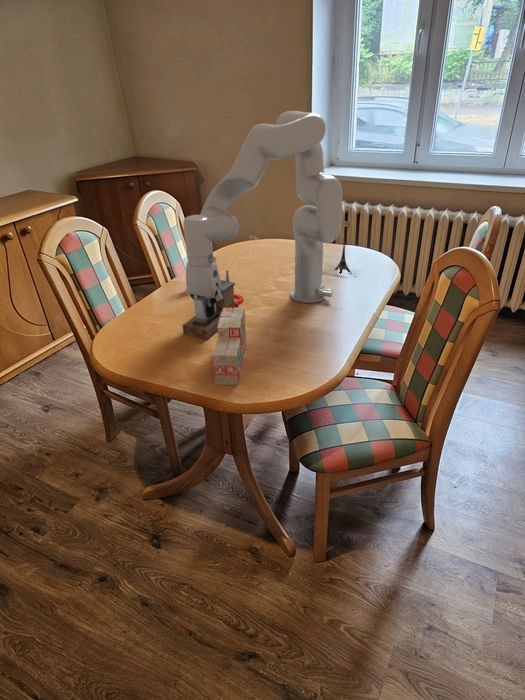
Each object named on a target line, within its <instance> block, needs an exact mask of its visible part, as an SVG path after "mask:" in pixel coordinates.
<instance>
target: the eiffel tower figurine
mask: <svg viewBox="0 0 525 700" xmlns="http://www.w3.org/2000/svg"><path fill="white" fill-rule="evenodd" d="M345 242H346V241H345V240H344V242H343V243H342V244H343V245H342V247H343V248H342V252H341V253H342V254H341V258H340V260H339V263H338V264H337V266H336V267H334V269H333V270H338V269H340V272H339V273H340V274H341V273H342V270H343V269H346V270H347V271H348V272H351V270H350V269H349V266H348V265H347V262H346V252H345V251H346V243H345Z"/></svg>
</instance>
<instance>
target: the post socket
mask: <svg viewBox="0 0 525 700" xmlns="http://www.w3.org/2000/svg"><path fill="white" fill-rule="evenodd" d="M220 281H221V294H222V296H223V299H221V300H220V301H217V302H216V315H217V318H216V319H215V320H213V321H212V322H211V323H209V324H208V325H207V326H206V327H203V326H199V325H197V324H196V316H193V317H192V318H190V319H189V320H187V321H186V322H185V323H183V324H182V331H183V332H182V333H183V334H184V335H188V336H191V337H196V338H199V339H203V340H207V341H208V340H210V338H212V337H213V336H214V335H215V334H218V329H217V327H218V323H219V319H220V316H221V312H222V309H223V308H236V306H235V303H234V301H235V298H234V294H235V292H234V291H235V288H234V286H235V283H236V282H233V281H230V280H229V281H226V280H222V279H220ZM215 297H216V294H215Z"/></svg>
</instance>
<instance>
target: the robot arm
mask: <svg viewBox="0 0 525 700" xmlns="http://www.w3.org/2000/svg"><path fill="white" fill-rule="evenodd" d="M326 129H327V127H326V123H325V120H324V118H323V117H322V116H320V115H319V114H317V113H315V112H307V111H299V110H297V111H296V110H289V111H285V112H282V113H280V115H278V117H277V120H276V124H270V123H257V124H255V125H254V126H253V127H251V128H250V131H249V133H248V134H247V137H246V139H245V140H244V143H243V144H242V146H241V148H240V151H239V152H238V155H237V157H236V159H235V161H234V163H233V165H232V168H230V171H229V172H228V173H227V174H226V175H225V176H224V177H223V178H222V179H221V180H220V181H219V182H218V183H217V184H216V185H215V186H214V187H213V189H212V190H211V191H210V193H209V194H208V196H207V198H206V200H205V202H204V204H203V207H202V208H201V211H200V214H192V215H188V216H186V217H185V218H184V219H183V223H182V224H183V226H182V227H183V233H184V243H185V248H186V250H185V251H186V257H187V262H186V265H185V266H186V267H185V282H186V283H185V284H186V285H185V286H186V289H185V293H186V294H187V295H188V296H190V298H191V299H192V300H193V301H194V299H195V298H197V297H198V296H203V297H206V299H207V304H208V306H207V317H208V318H210V317H212V316H213V315H214V314H215V308H214V304H215V303H216V302H217V301H220V300H221V299H223V296H222V294H221V281H220V280H221V276H220V272H219V269H218V265H217V263H216V262H217V257H214V252H213V242H215V241H216V242H217V241H229V240H231V239H234V238H235V237H236V236H237V235H238V233H239V231H240V222H239V220H238V219H237V218H236V216H234V215H233V214H232V213H229V212H227V210H228V208H229V206H230V205H231V203H232V202H233V201H234V200H235V199H236V198H237V197H239V196H241V195H242V194H244V193H248V192H249V191H251V190H254V189H255V188H256V187H257V186H258V184H259V182H260V181H261V178H262V177H263V174H264V172H265V170H266V168H267V166H268V164H269V163H270V160H271V159H272V160H277V161H280V160H284V159H288V158H291V157H293V156H294V157H295V174H296V175H295V182H296V183H295V184H296V185H295V186H296V189H295V190H296V194H297V195H296V196H297V198H299V200H301V201H302V202H304V203H306V204H308V205H303V206H300V207H299V208H297V209H296V210H295V212H294V214H293V217H292V230H293V235H294V236H293V237H294V249H295V250H294V288H293V289H292V290H291V291H290V292H289V293H290V294H289V297H290V298H291V300H293V301H295V302H297V303H301V304H316V303H319V302H321V301H322V302H323V300H325V298H326V297H327V298H332V296H333V291H332V289H331V288H326V287H325V283H323V282H322V281H323V274H322V272H323V264H324V263H323V262H324V261H323V260H324V244H329V243H332V242H334V241H336V239H337V238H338V237H339V235H340V232H341V229H342V221H343V219H342V218H343V199H344V198H343V195H344V194H343V188H342V185H341V182H340V181H339V180H338V178H337V177H335V176H333V175H330V174H326V173H325V170H324V169H325V167H324V165H325V163H324V161H325V160H324V151H323V146H322V143H321V142H322V141H323V139H324V137H325V135H326ZM309 204H310V205H309ZM323 243H324V244H323ZM215 294H216V297H215Z"/></svg>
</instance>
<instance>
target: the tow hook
mask: <svg viewBox="0 0 525 700" xmlns="http://www.w3.org/2000/svg"><path fill="white" fill-rule="evenodd" d="M225 274H226V275H225V281H229V282H230V275H229V270H226V271H225ZM234 299H237V300H234V303H235V308H239V306H240V305H239V304H242V302H243V301H244V297H243V296H242V295H241V294H237V293H234Z"/></svg>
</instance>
